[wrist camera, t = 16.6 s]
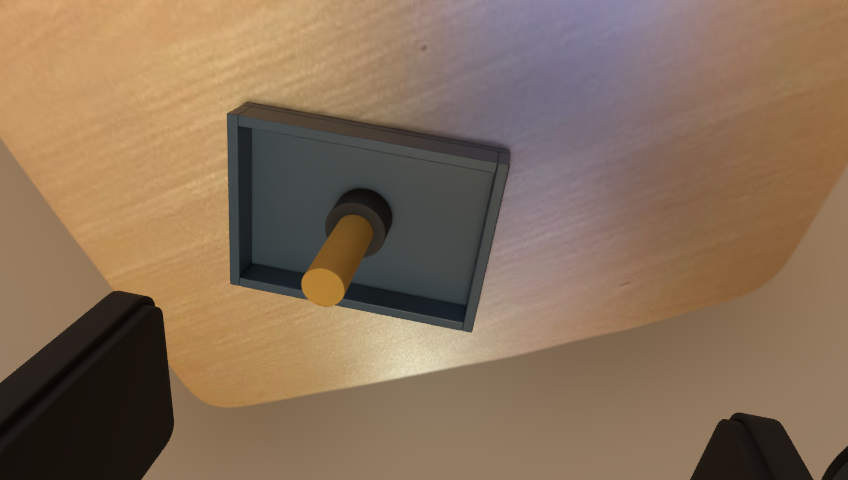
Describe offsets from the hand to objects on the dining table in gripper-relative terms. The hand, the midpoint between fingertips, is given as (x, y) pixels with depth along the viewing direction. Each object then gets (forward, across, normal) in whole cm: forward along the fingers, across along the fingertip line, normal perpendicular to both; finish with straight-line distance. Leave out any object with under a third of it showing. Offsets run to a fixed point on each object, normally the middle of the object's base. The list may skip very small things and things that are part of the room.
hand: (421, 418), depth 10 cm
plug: (+27, +7, +10) cm, 30 cm away
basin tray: (+28, +7, +10) cm, 31 cm away
